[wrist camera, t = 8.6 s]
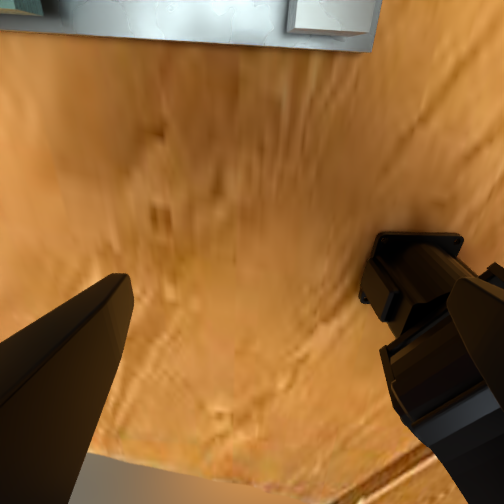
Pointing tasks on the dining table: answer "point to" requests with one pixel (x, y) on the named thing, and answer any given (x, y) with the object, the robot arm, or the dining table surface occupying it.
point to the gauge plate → (212, 22)
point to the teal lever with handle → (21, 7)
